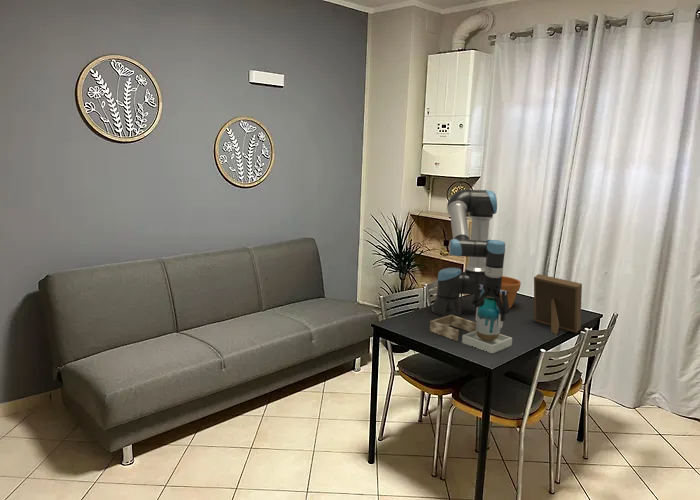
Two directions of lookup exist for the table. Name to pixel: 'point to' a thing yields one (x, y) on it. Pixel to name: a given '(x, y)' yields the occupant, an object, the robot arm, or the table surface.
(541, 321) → the photo frame
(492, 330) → the vase
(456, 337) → the wooden open crate
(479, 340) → the tray
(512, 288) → the flower pot
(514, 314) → the table surface
